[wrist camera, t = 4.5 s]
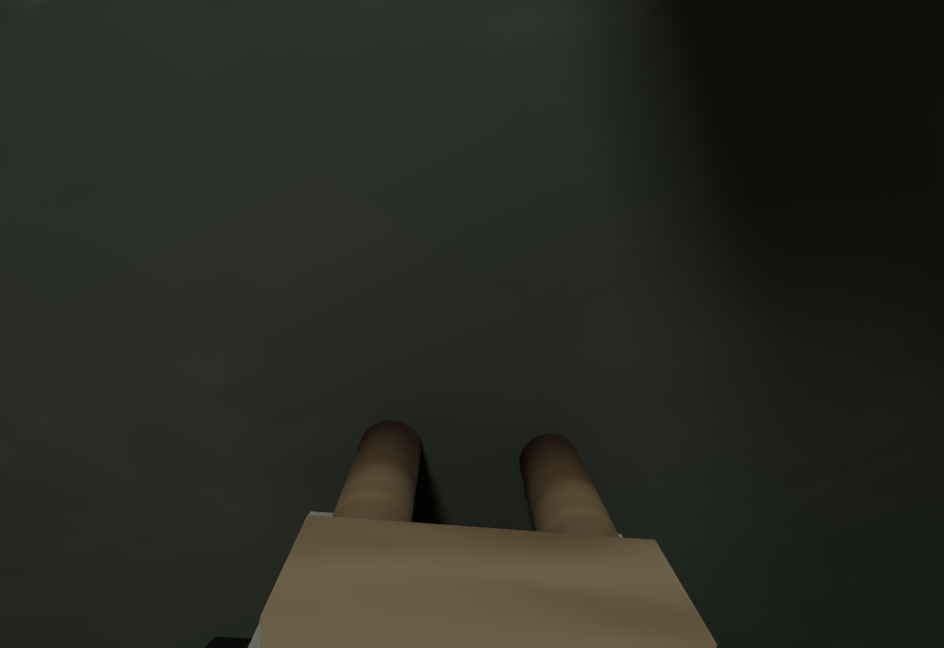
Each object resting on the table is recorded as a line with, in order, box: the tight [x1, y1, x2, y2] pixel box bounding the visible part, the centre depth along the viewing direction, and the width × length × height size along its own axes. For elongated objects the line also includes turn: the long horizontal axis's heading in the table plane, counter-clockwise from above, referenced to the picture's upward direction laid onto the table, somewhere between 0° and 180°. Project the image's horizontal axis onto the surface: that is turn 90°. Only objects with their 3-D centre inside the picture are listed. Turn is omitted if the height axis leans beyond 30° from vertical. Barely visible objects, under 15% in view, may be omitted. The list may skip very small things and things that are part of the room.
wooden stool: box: [260, 421, 717, 648], centre depth 12 cm, size 7×7×8 cm
